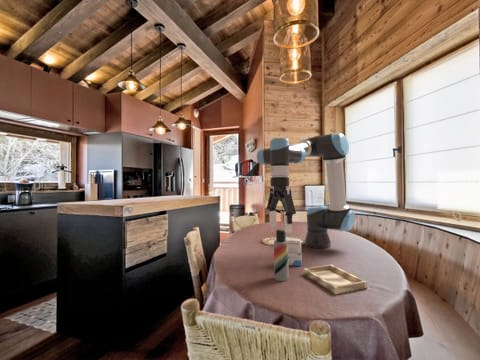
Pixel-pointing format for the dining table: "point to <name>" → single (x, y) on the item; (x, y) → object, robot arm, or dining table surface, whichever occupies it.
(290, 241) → the ink box
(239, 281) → the dining table surface
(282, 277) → the lotion bottle
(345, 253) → the dining table surface
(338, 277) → the tray
